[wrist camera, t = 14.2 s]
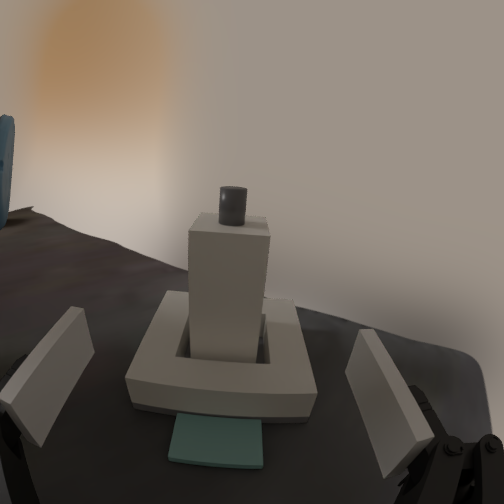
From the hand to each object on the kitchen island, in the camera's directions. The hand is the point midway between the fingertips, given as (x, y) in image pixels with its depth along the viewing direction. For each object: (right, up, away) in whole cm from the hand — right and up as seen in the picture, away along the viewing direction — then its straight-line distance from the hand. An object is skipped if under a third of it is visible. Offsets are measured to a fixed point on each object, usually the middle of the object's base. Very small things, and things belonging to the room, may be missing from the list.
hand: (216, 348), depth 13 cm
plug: (-1, -5, +12) cm, 13 cm away
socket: (-1, -6, +10) cm, 12 cm away
